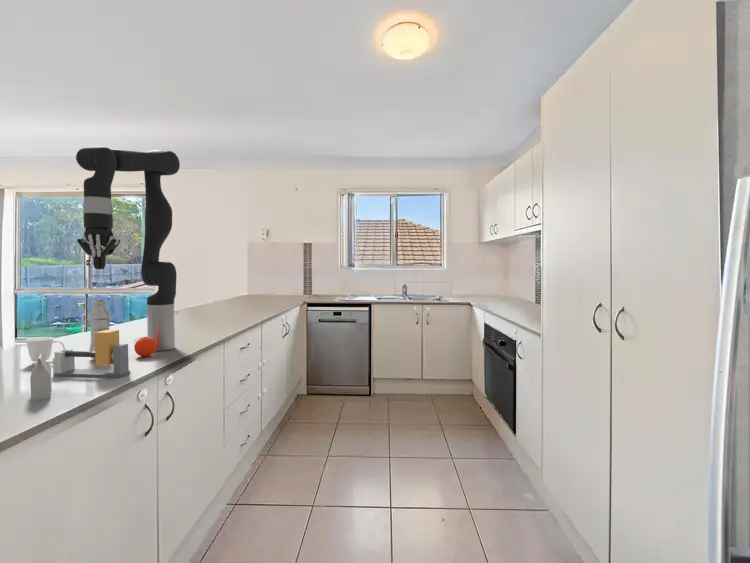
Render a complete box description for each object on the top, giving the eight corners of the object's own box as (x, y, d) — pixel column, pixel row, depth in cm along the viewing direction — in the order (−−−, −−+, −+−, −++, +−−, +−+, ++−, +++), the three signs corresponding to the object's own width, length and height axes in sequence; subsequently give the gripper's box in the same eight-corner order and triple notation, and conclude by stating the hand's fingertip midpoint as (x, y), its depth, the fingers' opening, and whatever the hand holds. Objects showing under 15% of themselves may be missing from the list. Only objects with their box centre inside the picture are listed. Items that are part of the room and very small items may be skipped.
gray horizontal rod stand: (53, 375, 121) (52, 345, 120) (67, 371, 126) (66, 341, 125) (118, 377, 119) (118, 347, 119) (130, 373, 124) (129, 343, 124)
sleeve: (95, 365, 120) (94, 332, 119) (107, 361, 124) (106, 329, 124) (108, 365, 120) (107, 332, 119) (119, 361, 124) (119, 330, 124)
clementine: (126, 358, 143) (126, 338, 142) (139, 354, 150) (138, 334, 149) (149, 359, 142) (149, 338, 142) (160, 354, 149) (160, 334, 149)
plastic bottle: (93, 362, 137) (92, 301, 136) (86, 359, 141) (84, 300, 140) (115, 358, 142) (114, 300, 141) (107, 355, 147) (105, 299, 146)
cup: (28, 362, 137) (28, 337, 136) (66, 358, 142) (65, 335, 141) (24, 366, 130) (23, 341, 130) (63, 363, 136) (63, 338, 135)
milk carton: (51, 391, 107) (50, 352, 106) (50, 398, 102) (49, 358, 101) (33, 393, 105) (31, 354, 104) (31, 401, 99) (29, 360, 99)
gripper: (126, 214, 131) (127, 269, 132) (87, 214, 132) (88, 268, 133) (109, 211, 124) (111, 269, 125) (68, 211, 125) (69, 269, 126)
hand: (99, 269), depth 129 cm, fingers closed
